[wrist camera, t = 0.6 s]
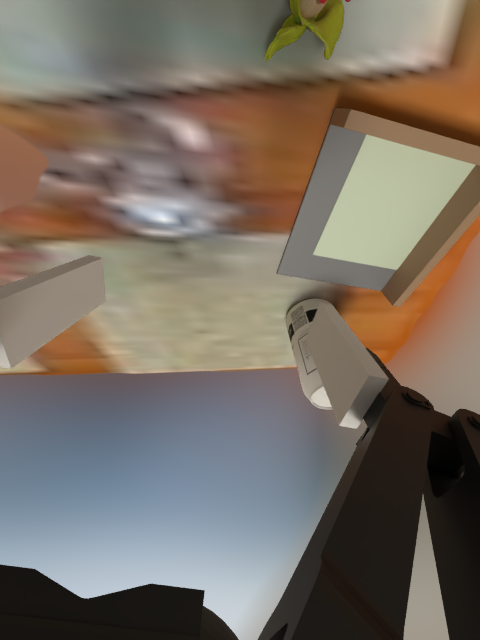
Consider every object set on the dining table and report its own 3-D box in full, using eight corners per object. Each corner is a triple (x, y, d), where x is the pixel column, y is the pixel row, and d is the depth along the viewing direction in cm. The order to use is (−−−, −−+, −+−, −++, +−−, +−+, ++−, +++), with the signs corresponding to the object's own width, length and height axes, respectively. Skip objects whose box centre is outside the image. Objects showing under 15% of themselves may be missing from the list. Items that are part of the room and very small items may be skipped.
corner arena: (335, 107, 22) (351, 109, 19) (491, 153, 25) (526, 160, 22) (276, 272, 34) (281, 288, 31) (386, 290, 37) (399, 306, 34)
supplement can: (343, 302, 38) (389, 383, 27) (317, 335, 43) (346, 414, 32) (299, 290, 36) (329, 372, 25) (277, 326, 42) (294, 407, 31)
